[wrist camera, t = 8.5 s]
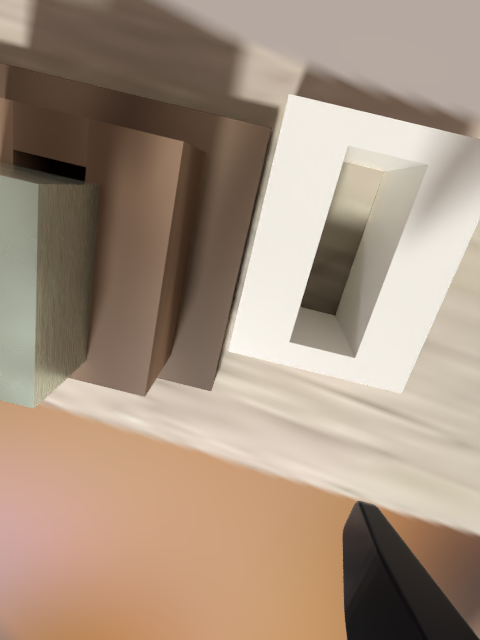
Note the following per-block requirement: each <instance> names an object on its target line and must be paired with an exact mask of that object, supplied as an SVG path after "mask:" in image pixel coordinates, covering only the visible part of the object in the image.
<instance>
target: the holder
mask: <svg viewBox="0 0 480 640" xmlns="http://www.w3.org/2000/svg"><path fill="white" fill-rule="evenodd" d="M343 162H347V163H351V164H355V165H359V166H363V167H368V168H372V169H376V170H380V171H384V174H383V177H382V180H381V183H380V186H379V189H378V191H377V194H376V197H375V200H374V203H373V206H372V209H371V212H370V215H369V218H368V221H367V224H366V227H365V230H364V233H363V236H362V238H361V241H360V244H359V247H358V250H357V253H356V256H355V259H354V262H353V265H352V268H351V271H350V274H349V277H348V280H347V283H346V285H345V288H344V291H343V294H342V297H341V300H340V303H339V306H338V309H337V312H336V315H331V314H327V313H323V312H319V311H315V310H311V309H307V308H303V307H300V304H301V301H302V298H303V294H304V291H305V288H306V284H307V281H308V278H309V274H310V271H311V268H312V264H313V261H314V258H315V254H316V251H317V248H318V244H319V241H320V238H321V234H322V231H323V228H324V224H325V221H326V218H327V214H328V211H329V208H330V204H331V201H332V198H333V194H334V191H335V188H336V184H337V181H338V178H339V174H340V171H341V168H342V164H343ZM479 219H480V139H477V138H472V137H468V136H464V135H460V134H456V133H451V132H447V131H443V130H439V129H435V128H430V127H426V126H422V125H418V124H414V123H409V122H405V121H401V120H397V119H393V118H388V117H384V116H380V115H376V114H372V113H367V112H363V111H359V110H355V109H351V108H346V107H342V106H338V105H334V104H330V103H325V102H321V101H317V100H313V99H309V98H304V97H300V96H296V95H292V94H289V96H288V100H287V104H286V109H285V113H284V117H283V121H282V126H281V130H280V134H279V138H278V143H277V147H276V151H275V155H274V160H273V164H272V168H271V172H270V176H269V181H268V185H267V189H266V193H265V198H264V202H263V206H262V210H261V215H260V219H259V223H258V227H257V232H256V236H255V240H254V244H253V248H252V253H251V257H250V261H249V265H248V270H247V274H246V278H245V282H244V287H243V291H242V295H241V299H240V304H239V308H238V312H237V316H236V320H235V325H234V329H233V333H232V337H231V342H230V346H229V350H228V351H229V352H233V353H237V354H241V355H245V356H249V357H253V358H258V359H262V360H266V361H270V362H274V363H278V364H282V365H286V366H290V367H294V368H298V369H302V370H306V371H310V372H315V373H319V374H323V375H327V376H331V377H335V378H339V379H343V380H347V381H351V382H355V383H359V384H363V385H367V386H371V387H376V388H380V389H384V390H388V391H392V392H396V393H400V394H401V393H402V391H403V389H404V387H405V384H406V382H407V380H408V378H409V376H410V373H411V371H412V369H413V367H414V364H415V362H416V360H417V358H418V355H419V353H420V351H421V349H422V346H423V344H424V342H425V340H426V338H427V335H428V333H429V331H430V329H431V326H432V324H433V322H434V320H435V317H436V315H437V313H438V311H439V308H440V306H441V304H442V302H443V299H444V297H445V295H446V293H447V291H448V288H449V286H450V284H451V282H452V279H453V277H454V275H455V273H456V270H457V268H458V266H459V264H460V261H461V259H462V257H463V255H464V253H465V250H466V248H467V246H468V244H469V241H470V239H471V237H472V235H473V232H474V230H475V228H476V226H477V223H478V221H479Z"/></svg>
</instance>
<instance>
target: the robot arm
mask: <svg viewBox="0 0 480 640" xmlns="http://www.w3.org/2000/svg"><path fill="white" fill-rule="evenodd" d="M343 574H344V575H343V579H344V612H345V622H346V632H347V640H480V639H479V638H478V637H477V635H476V634H475V633H474V631H473V630H472V629H471V628H470V626H469V625H468V624H467V622H466V621H465V620H464V618H463V617H462V616H461V615H460V613H459V612H458V611H457V609H456V608H455V607H454V606H453V604H452V603H451V602H450V600H449V599H448V598H447V596H446V595H445V594H444V593H443V592H442V590H441V589H440V587H439V586H438V585H437V584H436V582H435V581H434V580H433V578H432V577H431V576H430V575H429V574H428V572H427V571H426V570H425V568H424V567H423V565H422V564H421V563H420V562H419V560H418V559H417V558H416V556H415V555H414V554H413V553H412V551H411V550H410V549H409V547H408V546H407V545H406V543H405V542H404V541H403V540H402V538H401V537H400V536H399V534H398V533H397V532H396V531H395V529H394V528H393V527H392V525H391V524H390V523H389V522H388V520H387V519H386V518H385V516H384V515H383V514H382V512H381V511H380V510H379V509H378V508H377V507H376V506H375V505H373V504H369V503H366V502H362V501H357V502H356V503H355V505H354V506H353V509H352V511H351V513H350V515H349V517H348V519H347V521H346V524H345V526H344V529H343Z"/></svg>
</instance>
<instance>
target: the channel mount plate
mask: <svg viewBox="0 0 480 640" xmlns="http://www.w3.org/2000/svg"><path fill="white" fill-rule="evenodd" d="M270 135H271V128H269V127H265V126H261V125H256V124H252V123H248V122H244V121H240V120H235V119H231V118H227V117H223V116H219V115H215V114H210V113H206V112H202V111H198V110H194V109H189V108H185V107H181V106H177V105H173V104H168V103H164V102H160V101H156V100H152V99H148V98H143V97H139V96H135V95H131V94H127V93H122V92H118V91H114V90H110V89H106V88H102V87H97V86H93V85H89V84H85V83H81V82H76V81H72V80H68V79H64V78H60V77H56V76H51V75H47V74H43V73H39V72H35V71H30V70H26V69H22V68H18V67H14V66H10V65H5V64H1V63H0V161H1V162H5V163H9V164H13V165H18V166H22V167H26V168H30V169H34V170H39V171H43V172H47V173H51V174H55V175H59V176H64V177H68V178H72V179H76V180H80V181H85V182H89V183H93V184H97V185H100V192H99V205H98V218H97V231H96V243H95V256H94V269H93V282H92V295H91V308H90V320H89V333H88V346H87V359H86V361H85V362H84V363H83V364H82V365H81V366H80V367H79V368H78V369H77V370H76V371H74V372H73V373H72V374H71V375H70V376H69V377H68V378H72V379H76V380H80V381H84V382H88V383H92V384H96V385H100V386H104V387H108V388H112V389H116V390H120V391H124V392H128V393H132V394H136V395H140V396H146V394H147V392H148V391H149V389H150V388H151V386H152V385H153V383H154V381H155V380H156V378H160V379H164V380H168V381H172V382H176V383H180V384H184V385H188V386H192V387H196V388H200V389H204V390H208V391H211V390H212V387H213V384H214V380H215V376H216V371H217V367H218V362H219V358H220V354H221V349H222V345H223V340H224V336H225V332H226V327H227V323H228V319H229V314H230V310H231V305H232V301H233V297H234V292H235V288H236V284H237V279H238V275H239V270H240V266H241V262H242V257H243V253H244V248H245V244H246V240H247V235H248V231H249V227H250V222H251V218H252V213H253V209H254V205H255V200H256V196H257V192H258V187H259V183H260V178H261V174H262V170H263V165H264V161H265V156H266V152H267V148H268V143H269V139H270Z"/></svg>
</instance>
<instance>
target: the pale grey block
mask: <svg viewBox="0 0 480 640" xmlns="http://www.w3.org/2000/svg"><path fill="white" fill-rule="evenodd" d="M99 192H100V185H97V184H93V183H89V182H85V181H80V180H76V179H72V178H68V177H64V176H59V175H55V174H51V173H47V172H43V171H39V170H34V169H30V168H26V167H22V166H18V165H13V164H9V163H5V162H1V161H0V400H1V401H6V402H10V403H14V404H18V405H22V406H26V407H30V408H35V407H36V406H37V405H38V404H39V403H40V402H41V401H43V400H44V399H45V398H46V397H47V396H48V395H49V394H50V393H51V392H52V391H54V390H55V389H56V388H57V387H58V386H59V385H60V384H61V383H62V382H63V381H65V380H66V379H67V378H68V377H69V376H70V375H71V374H72V373H73V372H74V371H76V370H77V369H78V368H79V367H80V366H81V365H82V364H83V363H84V362H85V361H86V359H87V346H88V333H89V320H90V308H91V295H92V282H93V269H94V256H95V243H96V231H97V218H98V205H99Z"/></svg>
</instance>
